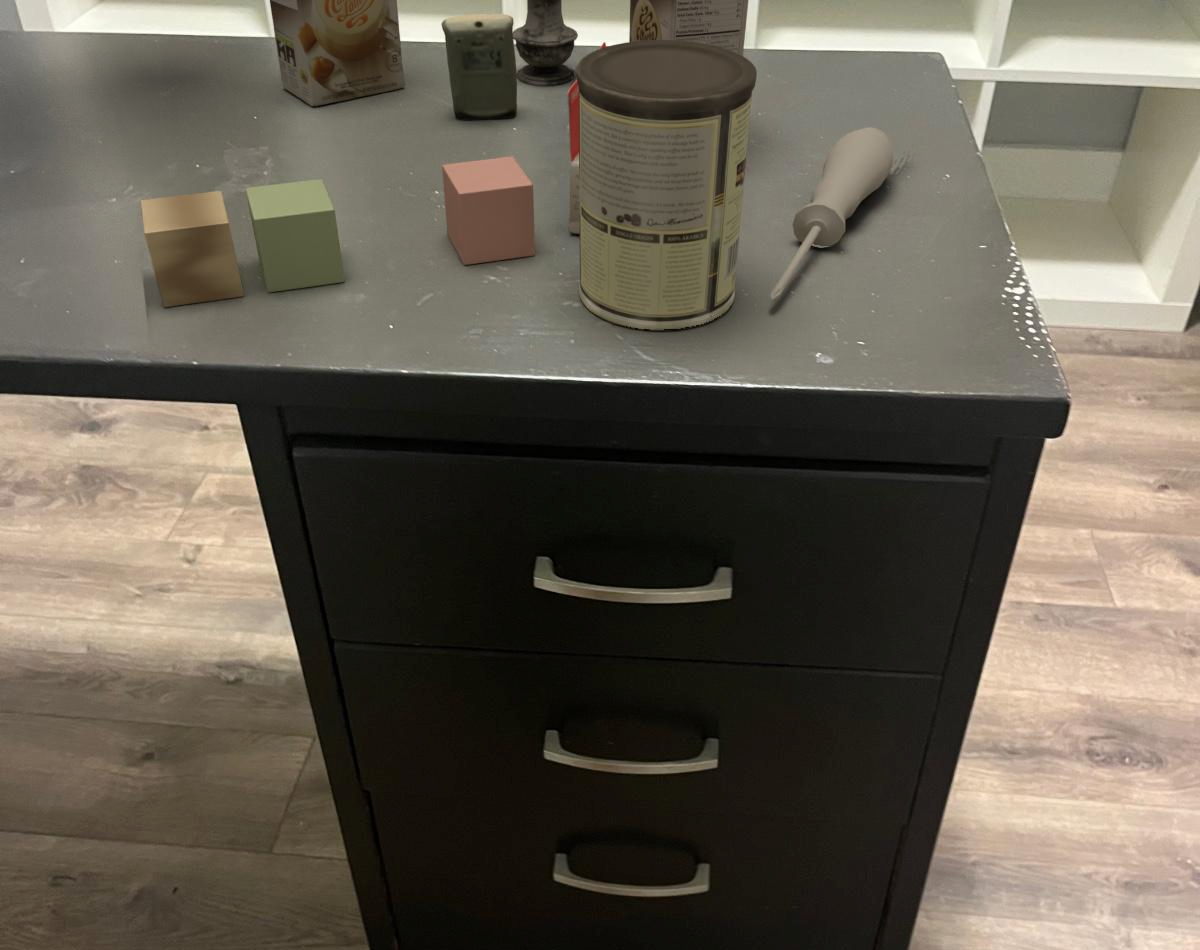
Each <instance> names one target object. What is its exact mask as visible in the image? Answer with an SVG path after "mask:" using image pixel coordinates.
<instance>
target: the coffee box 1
mask: <svg viewBox="0 0 1200 950" xmlns="http://www.w3.org/2000/svg"><path fill="white" fill-rule="evenodd" d="M269 6H270V11H271V12H270V13H271V17H272V25H273V33H274V37H275V38H274V39H275V40H274V41H275V45H276V52H277V59H278V65H279V66H278V67H279V72H280V78H281V84H282V88H284V90H286V91H288V92H289V93H291V94H293V95H294V96H295V97H296V98H299V99H300V100H301V101H303V102H305V103H306V104H308V105H309V106H311V107H319V106H324V105H328V104H332V103H338V102H342V101H348V100H353V99H357V98H362V97H366V96H371V95H372V96H373V95H376V94H381V93H385V92H390V91H395V90H399V89H403V88H405V77H404V67H403V56H402V55H403V54H402V43H401V34H400V21H399V10H398V9H399V8H398V0H269Z"/></svg>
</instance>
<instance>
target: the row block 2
mask: <svg viewBox="0 0 1200 950" xmlns="http://www.w3.org/2000/svg"><path fill="white" fill-rule="evenodd" d="M245 195H246V199H247V205H248V210H249V215H250V219H251V225H252V230H253V235H254V240H255V247H256V250H257V256H258V260H259V264H260V268H261V272H262V276H263V279H264V283H265V287H266V290H267V293H276V292H282V291H284V292H285V291H291V290H297V289H305V288H312V287H319V286H325V285H333V284H341V283H345V282H346V279H345V278H346V277H345V272H344V265H343V259H342V250H341V245H340V239H339V231H338V224H337V217H336V210H335V207H334V205H333V202H332V199H331V197H330V194H329V192H328V190H327V186H326V184H325V182H324V180H323V178H317V179H311V180H301V181H293V182H285V183H284V182H283V183H276V184H267V185H260V186H251V187H246V188H245Z"/></svg>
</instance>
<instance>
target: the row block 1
mask: <svg viewBox="0 0 1200 950" xmlns="http://www.w3.org/2000/svg"><path fill="white" fill-rule="evenodd" d="M140 207H141V208H140V209H141V215H142V217H141V218H142V224H143V234H144V238H145V241H146V246H147V249H148V253H149V257H150V260H151V264H152V268H153V272H154V275H155V279H156V280H155V281H156V283H157V287H158V291H159V295H160V299H161V303H162V306H163V308H169V307H177V306H183V305H192V304H198V303H206V302H213V301H220V300H226V299H233V298H240V297H244V296H245V292H244V287H243V284H242V278H241V274H240V269H239V264H238V260H237V259H238V258H237V255H236V250H235V246H234V241H233V236H232V231H231V227H230V222H229V218H228V213H227V209H226V204H225V200H224V196H223V191H222V190H217V191H216V190H215V191H209V192H208V191H207V192H199V193H191V194H190V193H189V194H183V195H173V196H166V197H165V196H164V197H158V198H147V199H141V200H140Z"/></svg>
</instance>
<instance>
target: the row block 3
mask: <svg viewBox="0 0 1200 950" xmlns="http://www.w3.org/2000/svg"><path fill="white" fill-rule="evenodd" d="M441 170H442V185H443V195H444V196H443V197H444V207H445V220H446V221H445V222H446V231H447V236H448V237H449V239H450V241H451V243H452V245H453V247H454V249H455V251H456V252H457V254H458V256H459V258H460V260H461V262H462V263H463V265H464V266H468V265H475V264H482V263H483V264H484V263H490V262H496V261H497V262H498V261H504V260H511V259H518V258H519V259H520V258H526V257H533V256H535V255H536V241H535V239H536V238H535V208H534V203H535V201H534V184H533V182H532V181H531V180H530V179H529V177H528V176H527V174H526V173H525V172H524V170H523V168H522V167H521V166H520V164H519V162H518V161H517V160H516V159H515V157H514V156H504V157H495V158H489V159H479V160H472V161H471V160H470V161H462V162H455V163H454V162H453V163H446V164H442V165H441Z"/></svg>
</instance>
